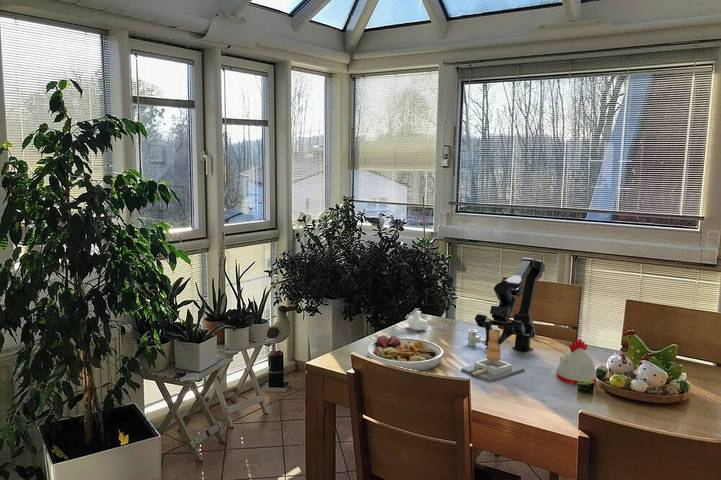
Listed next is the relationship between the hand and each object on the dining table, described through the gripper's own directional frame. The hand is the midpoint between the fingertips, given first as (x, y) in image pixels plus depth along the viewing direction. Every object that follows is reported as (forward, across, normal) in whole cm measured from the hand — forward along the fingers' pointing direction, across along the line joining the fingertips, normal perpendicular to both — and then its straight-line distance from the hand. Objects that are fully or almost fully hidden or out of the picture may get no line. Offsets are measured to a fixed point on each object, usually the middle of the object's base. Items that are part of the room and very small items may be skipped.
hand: (492, 343), depth 228 cm
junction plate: (+7, 0, +9) cm, 12 cm away
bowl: (+15, -33, +2) cm, 36 cm away
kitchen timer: (-1, +28, +18) cm, 33 cm away
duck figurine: (-14, -50, +30) cm, 60 cm away
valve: (-9, -16, +26) cm, 32 cm away
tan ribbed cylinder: (+4, 0, +6) cm, 7 cm away
